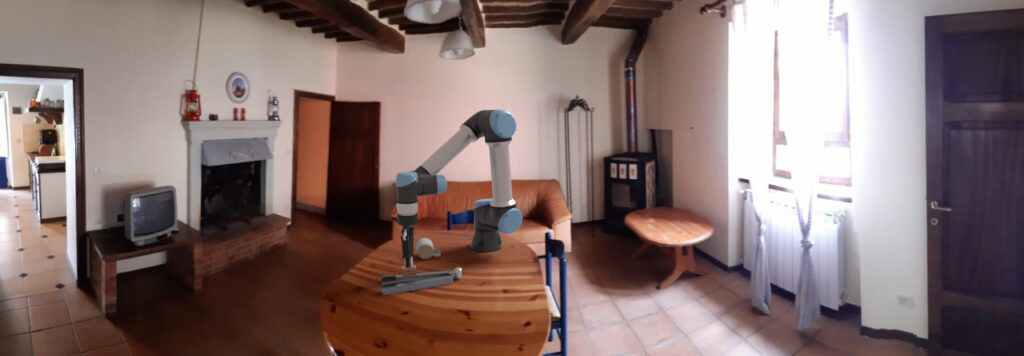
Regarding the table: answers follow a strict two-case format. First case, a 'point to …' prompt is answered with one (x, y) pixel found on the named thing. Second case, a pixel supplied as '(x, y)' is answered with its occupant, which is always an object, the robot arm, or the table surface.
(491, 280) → the table surface
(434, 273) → the tong arm
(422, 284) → the tong fixed arm
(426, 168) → the robot arm
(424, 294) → the table surface
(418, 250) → the ceramic mug
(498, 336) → the table surface
